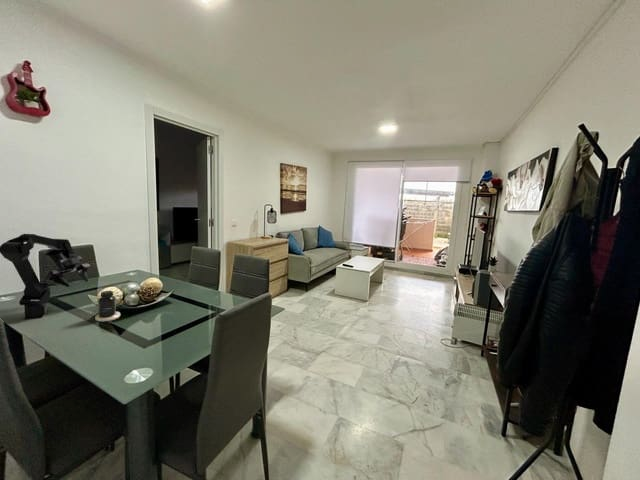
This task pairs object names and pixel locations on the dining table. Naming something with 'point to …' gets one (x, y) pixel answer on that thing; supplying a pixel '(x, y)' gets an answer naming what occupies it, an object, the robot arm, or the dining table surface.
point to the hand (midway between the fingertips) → (78, 283)
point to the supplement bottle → (106, 304)
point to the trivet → (107, 317)
